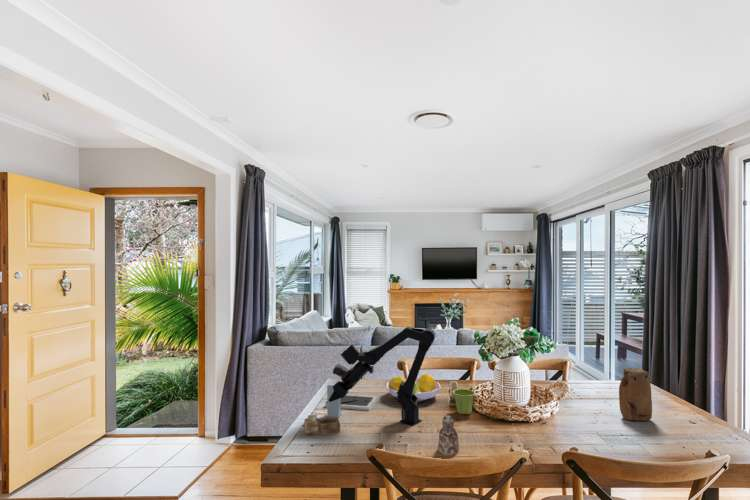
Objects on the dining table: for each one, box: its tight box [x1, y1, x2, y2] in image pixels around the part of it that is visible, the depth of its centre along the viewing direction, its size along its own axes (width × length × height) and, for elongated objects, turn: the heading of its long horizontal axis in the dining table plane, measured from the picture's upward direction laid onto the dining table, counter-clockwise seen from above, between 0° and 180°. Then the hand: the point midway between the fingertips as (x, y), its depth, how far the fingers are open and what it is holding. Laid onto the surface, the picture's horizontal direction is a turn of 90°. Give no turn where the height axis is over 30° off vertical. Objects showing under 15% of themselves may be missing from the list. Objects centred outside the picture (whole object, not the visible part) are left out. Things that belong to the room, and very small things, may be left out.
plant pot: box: [452, 388, 476, 415], centre depth 179 cm, size 9×9×9 cm
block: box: [618, 367, 653, 422], centre depth 169 cm, size 11×8×20 cm
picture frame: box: [324, 393, 379, 412], centre depth 192 cm, size 16×3×21 cm
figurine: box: [437, 412, 460, 456], centre depth 142 cm, size 7×7×12 cm
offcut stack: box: [303, 414, 318, 433], centre depth 160 cm, size 5×6×5 cm
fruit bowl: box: [386, 373, 442, 403], centre depth 199 cm, size 28×27×11 cm
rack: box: [303, 417, 341, 437], centre depth 160 cm, size 13×6×4 cm, turn 103°
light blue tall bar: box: [326, 382, 342, 419], centre depth 176 cm, size 5×3×14 cm, turn 78°
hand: (332, 397), depth 176 cm, fingers open, 9 cm apart
